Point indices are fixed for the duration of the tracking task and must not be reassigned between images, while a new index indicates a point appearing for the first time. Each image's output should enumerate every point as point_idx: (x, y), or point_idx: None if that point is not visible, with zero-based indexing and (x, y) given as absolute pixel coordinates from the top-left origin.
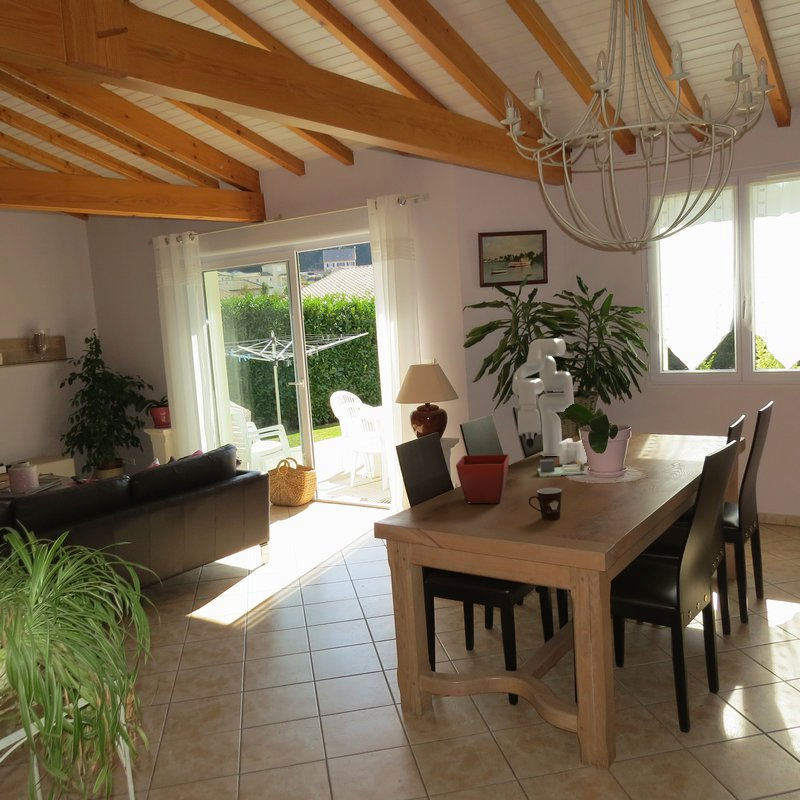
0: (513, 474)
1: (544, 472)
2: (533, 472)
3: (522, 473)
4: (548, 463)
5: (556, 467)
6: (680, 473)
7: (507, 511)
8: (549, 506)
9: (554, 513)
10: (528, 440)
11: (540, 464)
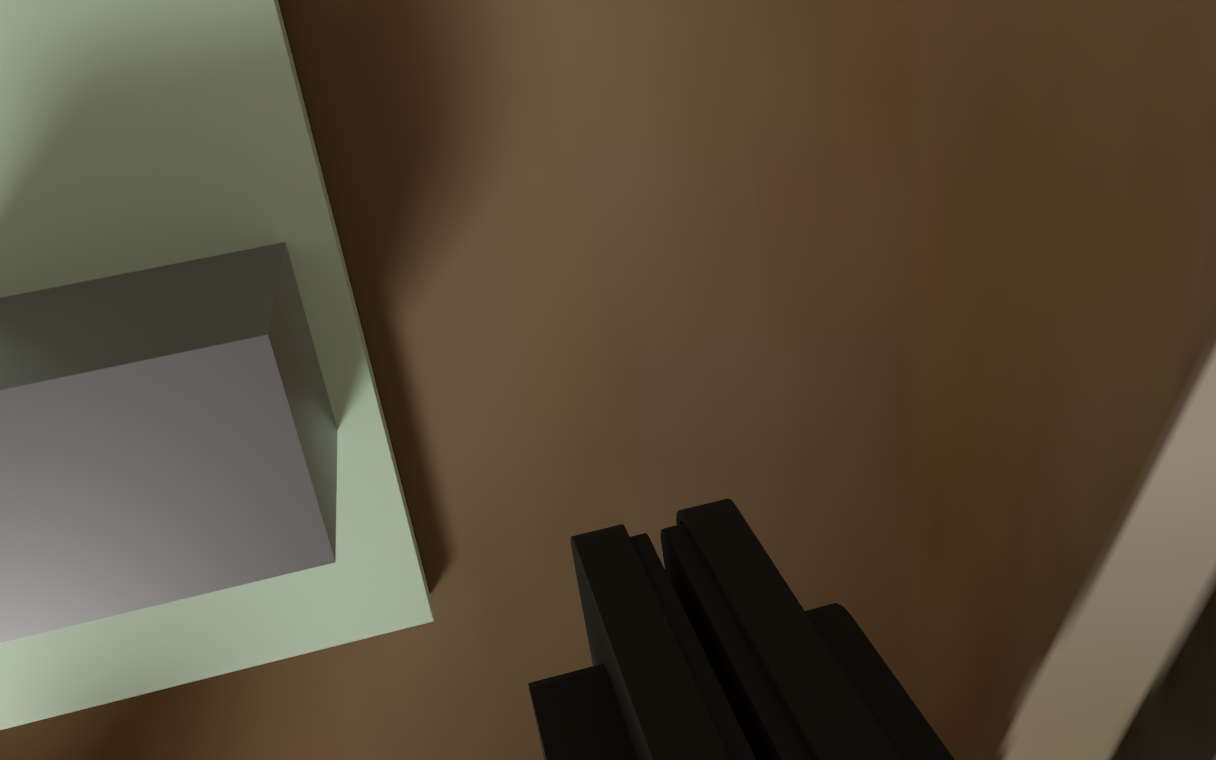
0: (882, 280)
1: (197, 231)
2: (499, 446)
3: (713, 363)
4: (32, 357)
5: (35, 720)
6: None
7: None
8: None
9: None
10: (877, 728)
11: (294, 368)
